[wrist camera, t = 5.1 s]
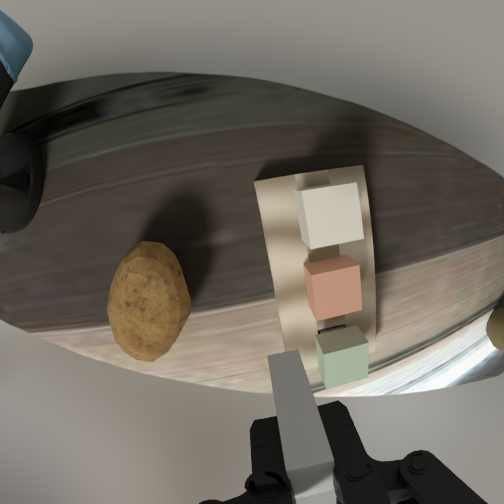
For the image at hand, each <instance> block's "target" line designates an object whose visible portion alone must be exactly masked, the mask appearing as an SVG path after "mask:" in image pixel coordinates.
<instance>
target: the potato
mask: <svg viewBox="0 0 504 504" xmlns="http://www.w3.org/2000/svg"><path fill="white" fill-rule="evenodd" d="M190 307H191V298H190V295H189V292H188V289H187V285H186V282H185V279H184V275H183V272H182V269H181V266H180V264H179V262H178V260H177V258H176V256H175V254H174V253H173V252H172V251H171V250H170V249H168V248H167V247H166V246H165V245H164V244H163V243H157V242H148V241H141V242H140V243H139V244H137V245H136V246H135V247H133V248H132V249H131V250H129V251H128V252H127V253H126V254H125V256H124V258H123V259H122V261H121V262H120V264H119V266H118V268H117V271H116V273H115V276H114V279H113V281H112V284H111V288H110V291H109V295H108V306H107V310H108V315H109V320H110V324H111V328H112V331H113V335H114V339H115V341H116V343H117V344H118V345H119V346H120V348H121V349H122V350H123V351H124V352H125V353H127V354H128V355H130V356H132V357H133V358H135V359H136V360H141V361H149V362H153V361H154V360H156V359H158V358H159V357H161V356H162V355H164V354H165V353H167V352H168V351H169V349H170V348H171V347H172V345H173V344H174V342H175V341H176V339H177V337H178V335H179V333H180V332H181V330H182V328H183V326H184V324H185V322H186V320H187V318H188V316H189V315H190Z"/></svg>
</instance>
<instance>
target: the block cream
mask: <svg viewBox="0 0 504 504" xmlns="http://www.w3.org/2000/svg"><path fill="white" fill-rule="evenodd" d="M294 196H295V201H296V207H297V213H298V219H299V225H300V231H301V237H302V241H303V242H304V243H305V244H306V245H307V246H308V247H309V248H310V249H315V248H320V247H325V246H330V245H335V244H340V243H345V242H350V241H355V240H360V239H364V234H363V225H362V216H361V208H360V201H359V194H358V187H357V182H341V183H334V184H327V185H321V186H315V187H308V188H302V189H296V190H294Z"/></svg>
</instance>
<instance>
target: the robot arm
mask: <svg viewBox="0 0 504 504" xmlns="http://www.w3.org/2000/svg"><path fill="white" fill-rule="evenodd" d="M32 49H33V42H32V39H31V37H30V36H29V35H28V34H27V33H26V32H25V31H24V30H23V29H22V28H21V27H20V26H19V25H18V24H17V23H16V22H14V21H13V20H12V19H11V18H10V17H8V16H7V15H6V14H5V13H3V12H2V11H0V109H1V107H2V105H3V103H4V101H5V99H6V97H7V95H8V94H9V92H10V90H11V88H12V86H13V85H14V83H16V82H17V77H18V75H19V74H20V72H21V70H22V68H23V66H24V64H25V63H26V61H27V60H28V58H29V56H30V55H31V52H32ZM42 185H43V167H42V160H41V155H40V152H39V149H38V147H37V145H36V143H35V142H34V141H33V139H32V138H31V137H29V136H28V135H25V134H21V133H7V134H5V135H2V136H1V137H0V233H2V234H9V233H13V232H16V231H19V230H22V229H23V228H25V227H26V226H27V225H28V224H29V223H30V221H31V220H32V218H33V217H34V215H35V213H36V211H37V208H38V205H39V202H40V198H41V193H42ZM268 362H269V368H270V375H271V381H272V387H273V393H274V399H275V405H276V412H277V416H275V417H270V418H264V419H258V420H254V422H253V424H252V426H251V428H250V441H251V442H250V444H251V461H252V474H251V475H250V476H249V477H248V478H247V480H246V482H245V488H246V490H247V491H246V492H245V493H244V494H242V495H240V496H238V497H235V498H232V499H230V500H227V501H223V502H221V501H218V500H206V501H203V502H201V503H199V504H296V498H301V497H305V496H310V495H315V494H319V493H323V492H327V491H330V490H334V489H335V493H336V496H337V498H336V504H488V503H486V502H485V501H484V500H483V499H482V498H481V497H480V496H479V495H477V494H476V493H475V492H474V491H473V490H472V489H471V488H469V487H468V486H467V485H466V484H465V483H464V482H463V481H462V480H461V479H459V478H458V477H457V476H456V475H455V474H454V473H453V472H451V470H450V469H448V468H447V467H446V466H445V465H444V464H443V463H442V462H441V461H440V460H438V459H437V458H436V457H435V456H434V455H433V454H432V453H430V452H428V451H424V450H419V451H414V452H412V453H410V454H408V455H407V456H406V457H405V458H404V459H402V460H395V461H383V462H382V461H377V460H374V459H372V458H371V457H370V456H369V455H368V454H367V453H366V451H365V449H364V447H363V444H362V442H361V439H360V437H359V435H358V432H357V430H356V428H355V426H354V423H353V421H352V419H351V416H350V414H349V412H348V409H347V407H346V406H345V405H343V404H342V403H341V402H339V401H335V402H331V403H328V404H324V405H320V406H317V405H316V402H315V399H314V396H313V393H312V390H311V387H310V383H309V380H308V377H307V374H306V371H305V368H304V365H303V362H302V359H301V356H300V353H299V350H298V349H296V350H291V351H287V352H283V353H278V354H274V355H269V356H268Z"/></svg>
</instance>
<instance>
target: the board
mask: <svg viewBox="0 0 504 504" xmlns="http://www.w3.org/2000/svg"><path fill="white" fill-rule="evenodd" d="M341 182H357V187H358V194H359V201H360V208H361V216H362V225H363V234H364V239H360V240H355V241H350V242H345V243H340V244H335V245H330V246H325V247H320V248H315V249H310V248H309V247H308V246H307V245H306V244H305V243H304V242H303V241H302V237H301V231H300V225H299V219H298V213H297V207H296V201H295V196H294V190H296V189H302V188H308V187H315V186H321V185H327V184H334V183H341ZM254 185H255V190H256V195H257V200H258V205H259V210H260V216H261V221H262V226H263V231H264V237H265V242H266V247H267V253H268V258H269V263H270V269H271V274H272V280H273V285H274V291H275V296H276V302H277V308H278V313H279V319H280V325H281V330H282V336H283V342H284V348H285V352H287V351H291V350H296V349H298V350H299V353H300V356H301V359H302V362H303V365H304V368H305V370H308V369H313V368H317V367H318V358H317V348H316V338H315V335H318V331H317V330H321V329H325V328H329V327H333V326H338V325H340V326H344V328H347V327H351V326H354V325H357V327H358V328H359V329H360V331H361V332H362V333H363V335H364V336H365V338H366V339H367V340H368V342H369V354H370V353H373V352H375V347H376V286H375V265H374V250H373V238H372V228H371V218H370V210H369V202H368V194H367V187H366V181H365V174H364V168H363V165H359V166H351V167H343V168H335V169H328V170H321V171H314V172H307V173H301V174H295V175H289V176H283V177H277V178H271V179H266V180H260V181H255V182H254ZM343 255H347V256H348V257H350V258H351V259H352V260H354V261H355V262H356V263H358V264H359V265H360V279H361V298H362V310H360V311H356V312H352V313H348V314H344V315H340V316H336V317H332V318H328V319H323V320H319V321H316V319H315V317H314V315H313V313H312V311H311V309H310V306H309V303H308V295H307V288H306V281H305V273H304V267H303V264H304V263H309V262H314V261H319V260H324V259H329V258H334V257H338V256H343Z"/></svg>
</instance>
